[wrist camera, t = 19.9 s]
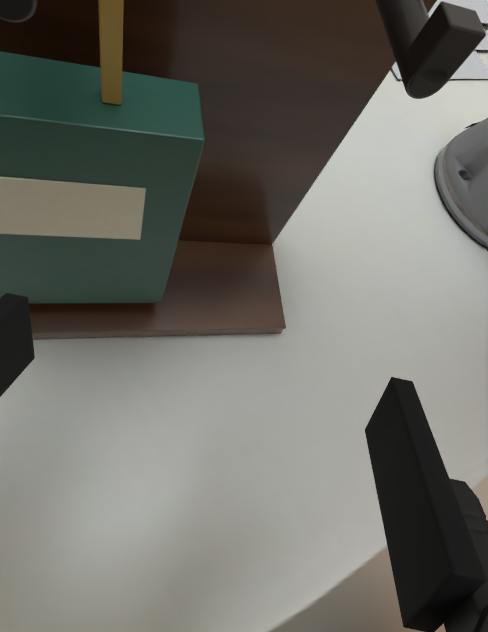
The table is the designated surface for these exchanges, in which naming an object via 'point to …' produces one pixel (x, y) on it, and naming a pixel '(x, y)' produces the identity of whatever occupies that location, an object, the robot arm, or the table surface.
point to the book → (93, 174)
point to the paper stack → (474, 63)
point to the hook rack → (243, 128)
